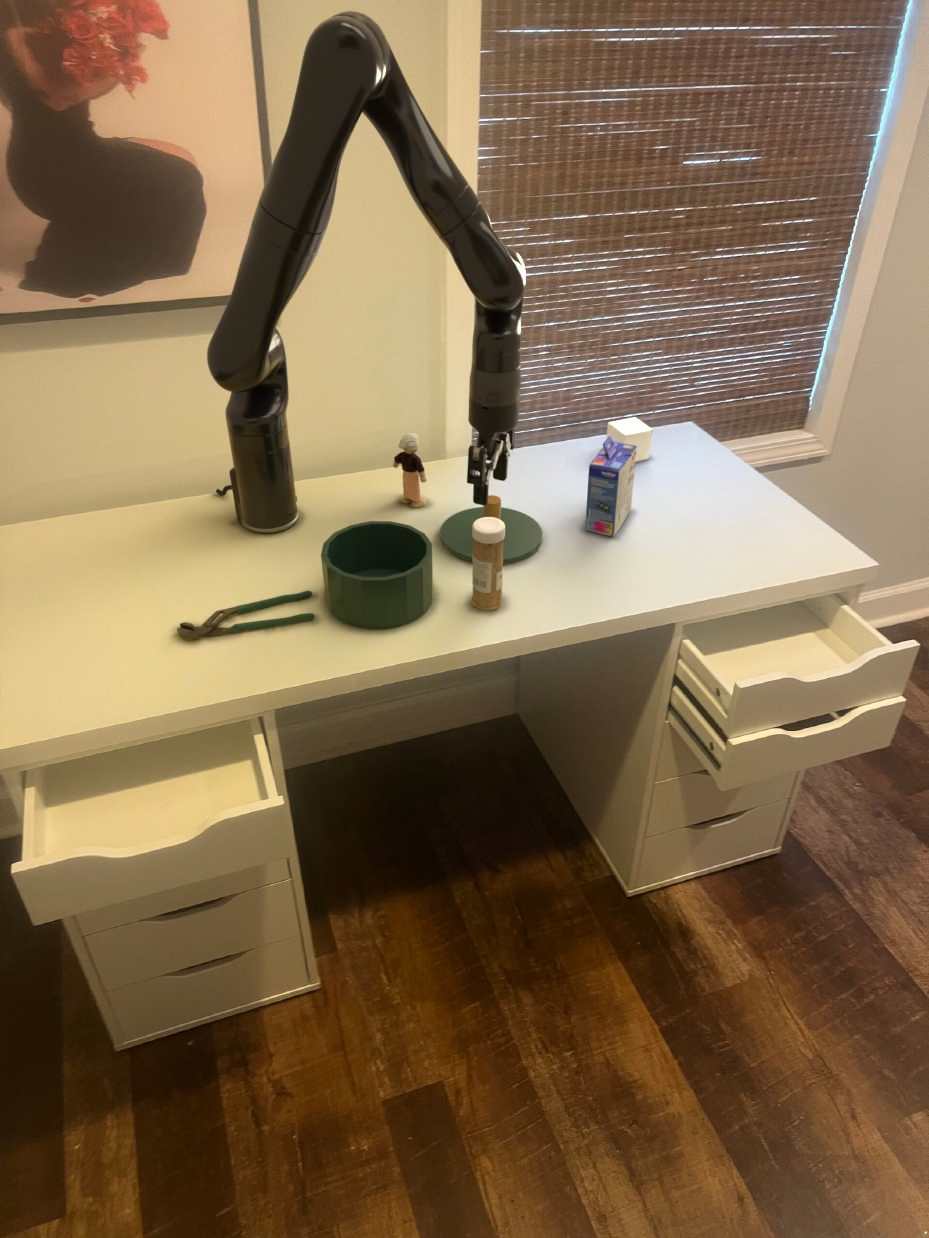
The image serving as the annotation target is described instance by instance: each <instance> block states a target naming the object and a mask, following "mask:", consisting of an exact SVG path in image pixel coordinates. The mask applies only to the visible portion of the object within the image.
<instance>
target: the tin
mask: <svg viewBox="0 0 929 1238" xmlns="http://www.w3.org/2000/svg"><path fill="white" fill-rule="evenodd" d="M320 559H321V569H322V579H323V586H324V587H323V588H324V589H323V590H324V597H325V602H326V606H327V608H328V610H329V612H330V614H331V615H332V616H333V617H334V618H335V619H337V620H338V621H339V622H341V623H343V624H345V625H347V626H350V627H353V628H358V629H363V630H370V631H371V630H374V631H378V630H379V631H380V630H391V629H396V628H400V627H404V626H406V625H409V624H411V623H413V622H415V621H417V620H418V619H420V618H422V617H423V616H424V615H425V614H426V613H427V612H428V611H429V609H430V607H431V606H432V603H433V598H434V573H433V570H434V569H433V567H434V566H433V543H432V541H431V540H430V539H429V537H428V535H426V533H425V532H423V531H421V530H420V529H418V528H415V527H414V526H412V525H410V524H405V523H401V522H397V521H392V520H370V521H365V522H358V523H353V524H350V525H348V526H345V527H344V528H341V529H339V530H337V531H335V532H333V533H332V534H331V535H330V536H329V537H328V538H327V539H326V540H325V541H324V542H323V544H322V549H321V553H320Z"/></svg>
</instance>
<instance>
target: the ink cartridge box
mask: <svg viewBox="0 0 929 1238" xmlns="http://www.w3.org/2000/svg"><path fill="white" fill-rule="evenodd" d="M636 454H637V446H635V445H629V444H624V443H619V442H615V441H613V440H612V438H611V436H609V437H608V438H607V439H606V438H605V440H604V441H603V443H602V447H601V450H599V452H598V453H597V455H595V457H594V458H593V460H592V461H591V462H590V464H589V465H588V477H587V478H588V479H587V491H586V493H587V494H586V507H585V509H586V510H585V525H584V526H585V527H584V530H585V531H588V532H592V533H595V534H600V535H604V536H607V537H612V538H613V537H615V536H616V534H617V533H618V531H619V530H620V528H621V526H622V525H623V524H624V522H625V520H626V519H627V517H628V515H629V514H630V512H631V511H632V501H633V492H634V491H633V490H634V483H635V482H634V481H635V472H636V463H637V462H636Z"/></svg>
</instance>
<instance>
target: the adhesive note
mask: <svg viewBox="0 0 929 1238" xmlns="http://www.w3.org/2000/svg"><path fill="white" fill-rule="evenodd" d="M653 431H654V429H653V428H651V427H650V426H649V425H647V424H646V423H645V422H643V421H642V420H640V419H639V418H637V417H635V416H634V417H628V418H624V419H618V420H614V421H609V422H607V428H606V438H605V440H606V439H607V438H608V437H609V436H611V438H612V440H613V441H615V442H619V443H624V444H629V445H635V446H637V454H636V463H637V462H641V461H646V460H649V459H650V452H651V447H652V446H651V445H652V438H653Z"/></svg>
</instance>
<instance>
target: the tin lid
mask: <svg viewBox="0 0 929 1238" xmlns="http://www.w3.org/2000/svg"><path fill="white" fill-rule="evenodd" d="M483 517H494V518H498V519H500V520H501V521H503V522H504V524H505V537H504V540H503V564H504V563H510V562H515V561H518V560H521V559H523V558H526V557H528V556H530V555H531V554H533V553H534V552H536V551H537V550H538V549H539V547H540V546H541V544H542V542H543V529H542V527H541V525H540V523H539V522H537V521H536V519H534V518H533V517H531V516H530V515H528V514H526V513H524V512H522V511H519V510H516V509H512V508H509V507H508V508H507V507H502V498H501V497H499V496H497V495H488V503H487V504H486V505H482V506H478V507H471V508H466V509H464V510H461V511H459V512H456V513H454V514H453V515H450V516H449V517H448V518H447V519H446V520H445V521H444V522H443V523H442V525H441V527H440V530H439V536H440V541H441V543H442V544H443V547H444V548H446V549H447V551H449V552H451V553H452V554H453V555H455V556H457V557H459V558H462V559H465V560H468V561H471V562H473V542H474V541H473V536H472V526H473V523H474V522H475V521H476V520H477V519H479V518H483Z"/></svg>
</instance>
